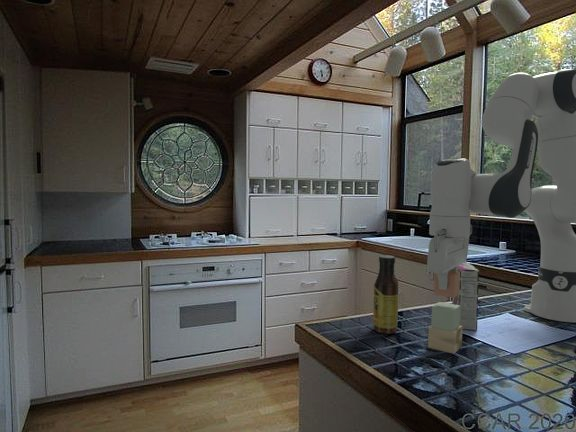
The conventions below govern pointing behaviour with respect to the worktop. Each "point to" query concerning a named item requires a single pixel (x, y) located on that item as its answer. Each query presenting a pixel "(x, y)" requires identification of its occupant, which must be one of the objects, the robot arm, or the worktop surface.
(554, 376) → the worktop surface
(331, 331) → the worktop surface
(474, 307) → the candy bar box
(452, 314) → the sage cube
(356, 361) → the worktop surface
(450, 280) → the terracotta cube
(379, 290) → the sauce bottle
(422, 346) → the worktop surface
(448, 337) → the beige block
